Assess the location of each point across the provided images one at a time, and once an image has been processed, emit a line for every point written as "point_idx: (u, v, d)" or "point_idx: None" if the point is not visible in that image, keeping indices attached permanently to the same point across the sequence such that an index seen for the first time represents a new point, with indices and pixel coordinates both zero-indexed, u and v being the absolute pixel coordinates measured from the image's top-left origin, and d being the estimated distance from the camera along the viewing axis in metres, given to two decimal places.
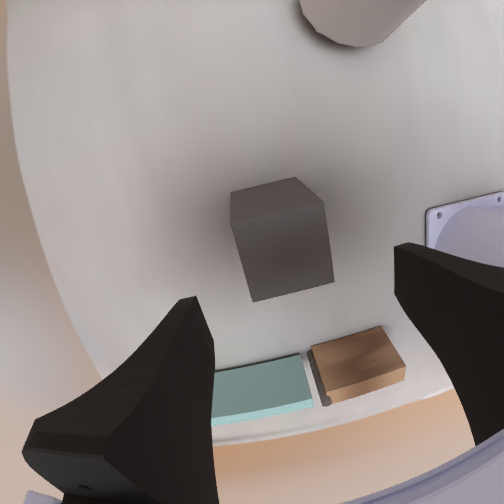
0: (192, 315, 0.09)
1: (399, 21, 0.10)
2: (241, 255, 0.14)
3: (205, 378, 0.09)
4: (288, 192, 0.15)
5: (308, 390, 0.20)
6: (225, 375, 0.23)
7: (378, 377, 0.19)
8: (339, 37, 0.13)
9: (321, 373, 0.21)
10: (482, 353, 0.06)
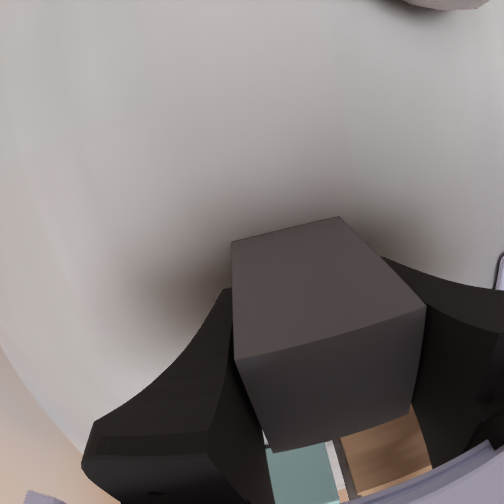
0: None
1: None
2: (256, 404, 0.06)
3: None
4: (340, 260, 0.08)
5: (334, 488, 0.13)
6: None
7: (421, 469, 0.12)
8: None
9: (351, 466, 0.14)
10: (434, 377, 0.06)
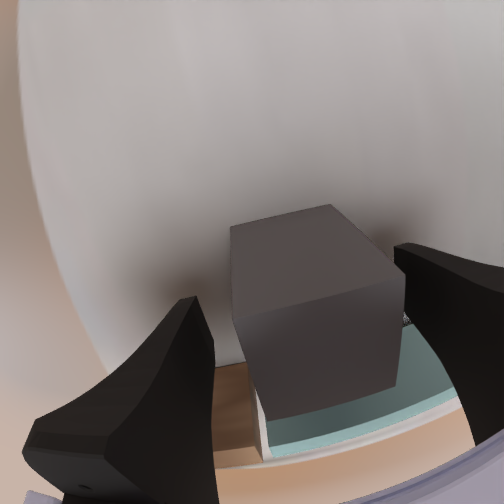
0: (192, 315, 0.09)
1: None
2: (251, 366, 0.07)
3: (205, 378, 0.09)
4: (330, 239, 0.09)
5: None
6: None
7: None
8: None
9: None
10: (482, 353, 0.06)
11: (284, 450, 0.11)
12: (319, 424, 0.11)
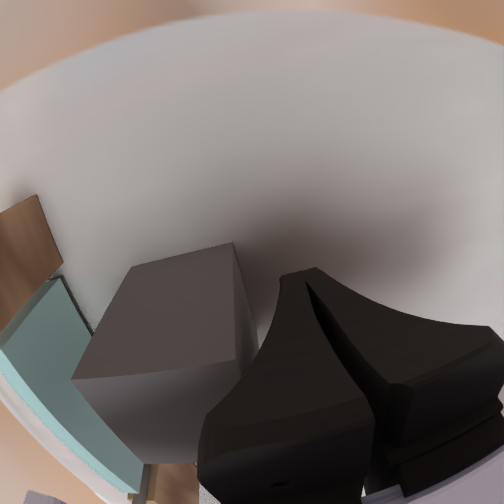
0: None
1: None
2: (164, 373, 0.06)
3: None
4: None
5: (139, 479, 0.11)
6: None
7: None
8: None
9: (158, 472, 0.13)
10: None
11: (1, 363, 0.07)
12: (43, 386, 0.08)
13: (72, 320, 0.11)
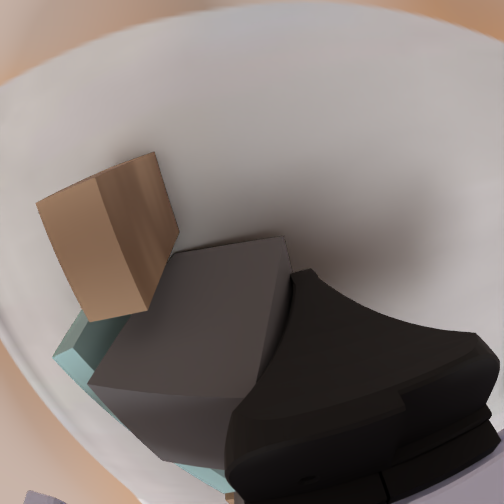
0: None
1: None
2: (176, 397, 0.05)
3: None
4: None
5: None
6: None
7: None
8: None
9: None
10: None
11: (73, 367, 0.07)
12: None
13: None
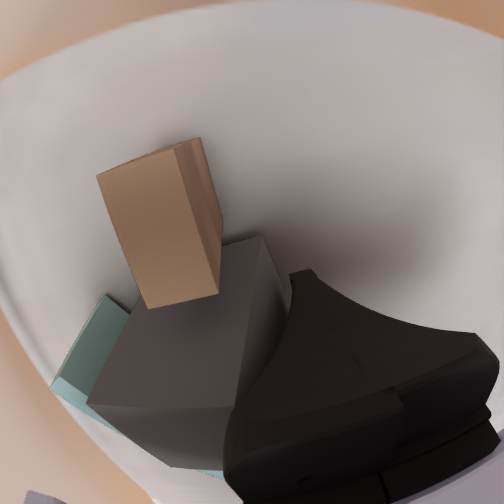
0: None
1: None
2: (166, 409, 0.05)
3: None
4: None
5: None
6: None
7: None
8: None
9: None
10: None
11: (67, 393, 0.07)
12: None
13: None
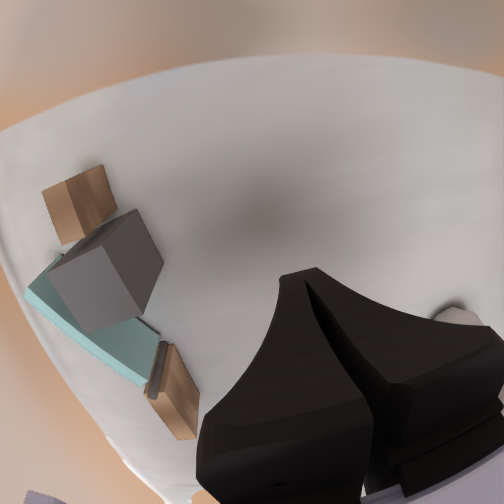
0: None
1: None
2: (79, 257, 0.13)
3: None
4: (145, 271, 0.17)
5: (149, 371, 0.18)
6: None
7: (184, 423, 0.20)
8: None
9: (168, 373, 0.20)
10: None
11: (31, 298, 0.15)
12: (56, 304, 0.16)
13: None
